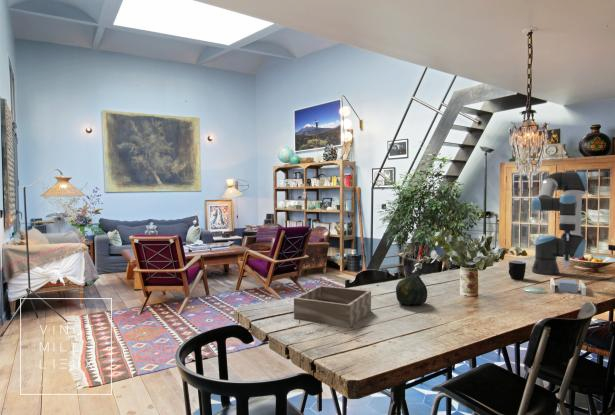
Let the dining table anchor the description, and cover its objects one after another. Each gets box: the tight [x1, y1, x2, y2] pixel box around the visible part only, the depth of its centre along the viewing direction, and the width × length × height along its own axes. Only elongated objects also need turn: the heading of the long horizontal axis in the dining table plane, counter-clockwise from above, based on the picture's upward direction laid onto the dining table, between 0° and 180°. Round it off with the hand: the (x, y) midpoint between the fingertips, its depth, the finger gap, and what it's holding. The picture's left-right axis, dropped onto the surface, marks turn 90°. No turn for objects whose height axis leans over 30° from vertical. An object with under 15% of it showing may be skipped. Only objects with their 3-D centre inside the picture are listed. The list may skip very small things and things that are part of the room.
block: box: [557, 278, 579, 294], centre depth 224 cm, size 8×8×5 cm
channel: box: [549, 277, 587, 297], centre depth 225 cm, size 18×15×4 cm
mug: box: [508, 260, 527, 281], centre depth 251 cm, size 12×9×10 cm
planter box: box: [293, 285, 372, 329], centre depth 187 cm, size 25×25×9 cm
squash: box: [395, 273, 428, 306], centre depth 203 cm, size 14×15×15 cm
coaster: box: [522, 286, 548, 294], centre depth 225 cm, size 11×11×1 cm
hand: (566, 266), depth 231 cm, fingers closed
